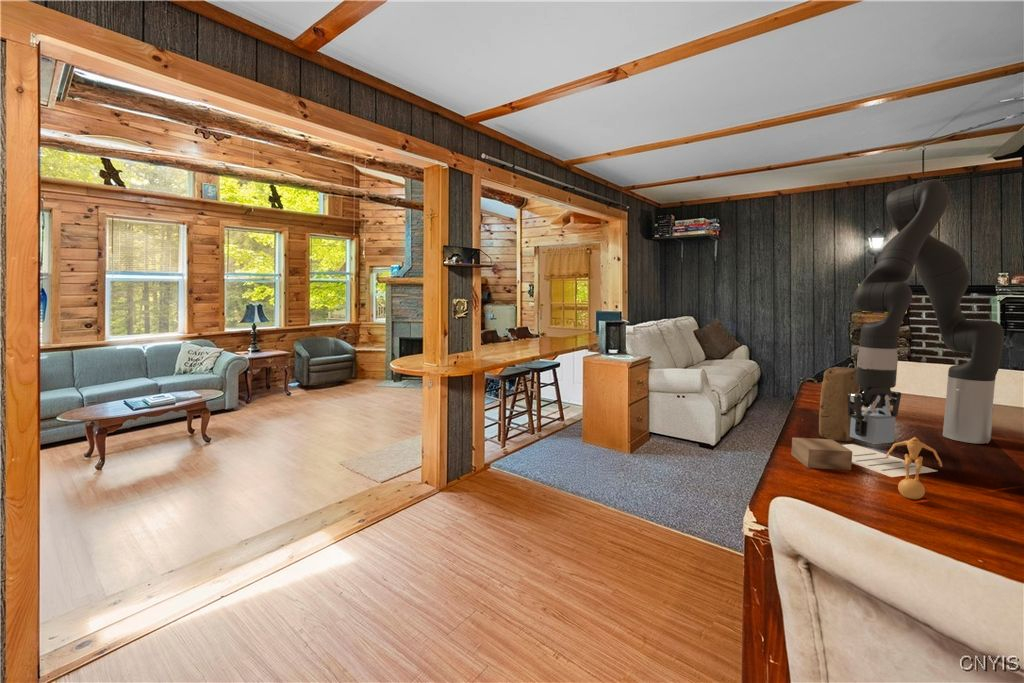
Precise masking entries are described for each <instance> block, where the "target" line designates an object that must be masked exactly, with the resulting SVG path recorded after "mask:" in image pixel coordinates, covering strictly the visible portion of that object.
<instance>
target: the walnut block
mask: <svg viewBox="0 0 1024 683" xmlns="http://www.w3.org/2000/svg"><path fill="white" fill-rule="evenodd" d="M842 445H843V444H841V443H839V442H837V441H835V440H832V439H827V438H814V437H813V438H812V437H811V438H807V437H791V451H790V453H791V454H790V455H791V456H792V457H794V458H795V459H796V460H798V461H799V462H800V463H801V464H802V465H803V466H805V468H806V470H810V469H822V470H823V469H825V470H841V471H852V466H853V465H852V464H853V463H852V451H851V450H849V449H847V448H846V447H844V446H842Z"/></svg>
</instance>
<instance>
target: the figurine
mask: <svg viewBox="0 0 1024 683" xmlns="http://www.w3.org/2000/svg"><path fill="white" fill-rule="evenodd" d="M901 446H907V451H908V453H905V454H904V460H905V461H904V463H905V466H906V467H905V469H906V475H905V476H904V477H905V478H904V479H901V480H900V481H899V483H898V485H897V489H898V492H899V493H900V495H901V496H903V497H904V498H906V499H910V500H920V499H921V498H923V497H924V496H925V493H926V489H925V486H924V484H922V482H921V481H920V480H919V478H920V476H919V475H920V474H919V472H920V471H921V470H920V469H921V467H922V466H923V458H924V457H923V456H921V455H920V456H919V454H920V453H921V451H922V449H926V450H928V451H930V452H933V455H934V456H935V458H936V460H937V461H938V462H937V464H938V465H939V467H940V468H942V467H943V463H942V460H941V458H940V457H939V455H938V452H937V451H936V449H934V448H932V446H931V447H930V446H928V445H927V444H925V443H923V442H921V441H920V440H919V439H918V438H917V437H916V436H913V437H912V438H910V439H909V440H903V441H900V442H895V443H893V444H892V446H891V447H890V449H889V450H888V451H887V453H886V454H887V455H886V458H887V457H889V455H890V456H891V454H890V453H892V452H893V451H894V449H895V448H896V447H901ZM913 461H914V463H915V464H916V465H917V467H918V469H916V474H914V475H915V477H914V478H910V475H909V470H910V468H909V467H908V466H909V464H911V463H913Z"/></svg>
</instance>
